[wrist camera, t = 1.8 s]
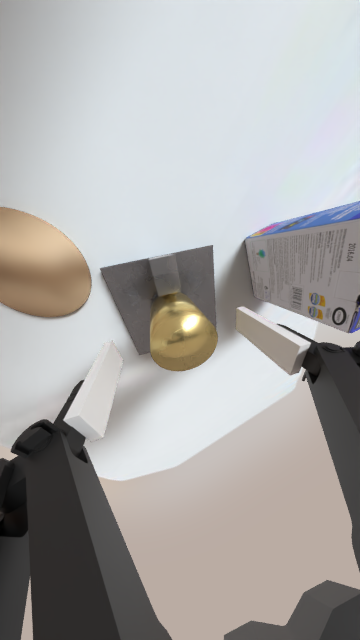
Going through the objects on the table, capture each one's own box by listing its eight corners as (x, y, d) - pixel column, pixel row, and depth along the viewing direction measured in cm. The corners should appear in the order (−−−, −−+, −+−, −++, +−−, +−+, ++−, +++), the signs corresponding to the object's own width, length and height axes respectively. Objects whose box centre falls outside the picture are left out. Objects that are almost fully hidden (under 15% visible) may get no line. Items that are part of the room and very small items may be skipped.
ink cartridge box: (282, 283, 22) (454, 321, 10) (253, 298, 22) (385, 355, 10) (279, 218, 17) (626, 123, 5) (243, 238, 18) (480, 200, 5)
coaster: (-76, 219, 11) (-87, 218, 11) (55, 200, 12) (51, 197, 12) (21, 323, 17) (17, 326, 16) (106, 304, 18) (105, 305, 17)
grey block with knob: (102, 267, 16) (80, 274, 11) (209, 245, 17) (234, 242, 12) (139, 351, 22) (137, 379, 17) (213, 330, 24) (231, 351, 19)
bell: (138, 281, 14) (130, 301, 8) (189, 270, 15) (215, 281, 9) (160, 347, 19) (165, 390, 13) (197, 336, 20) (218, 373, 14)
